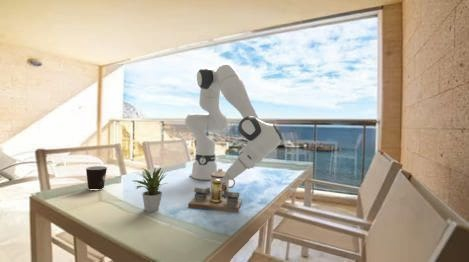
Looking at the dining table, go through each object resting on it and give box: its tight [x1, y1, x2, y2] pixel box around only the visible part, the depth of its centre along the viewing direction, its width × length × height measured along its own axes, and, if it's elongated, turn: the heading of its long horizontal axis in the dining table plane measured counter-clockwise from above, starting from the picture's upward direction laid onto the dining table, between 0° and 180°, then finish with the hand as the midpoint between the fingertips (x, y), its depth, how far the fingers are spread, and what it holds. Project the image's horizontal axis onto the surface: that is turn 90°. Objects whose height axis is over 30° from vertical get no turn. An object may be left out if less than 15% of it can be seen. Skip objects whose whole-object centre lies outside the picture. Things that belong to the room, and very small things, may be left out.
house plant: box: [133, 167, 168, 213], centre depth 97 cm, size 14×14×16 cm
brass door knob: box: [210, 178, 222, 203], centre depth 104 cm, size 5×5×9 cm
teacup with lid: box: [210, 168, 236, 196], centre depth 122 cm, size 12×9×12 cm
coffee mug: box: [85, 165, 108, 190], centre depth 120 cm, size 12×9×10 cm
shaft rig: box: [187, 186, 243, 213], centre depth 104 cm, size 12×20×7 cm, turn 81°
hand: (223, 179), depth 104 cm, fingers open, 8 cm apart
